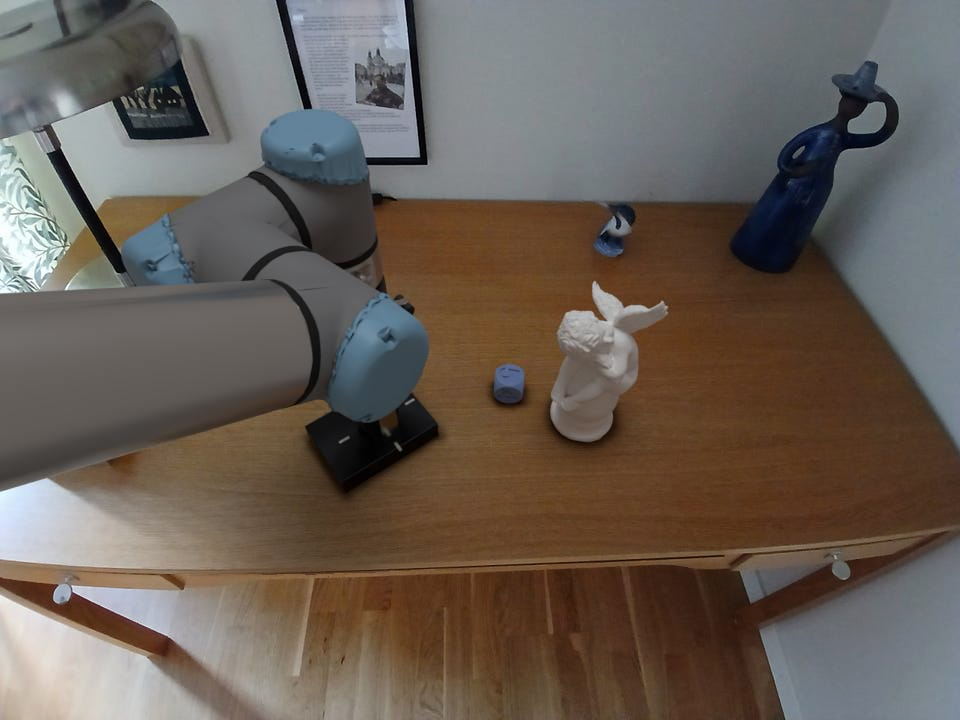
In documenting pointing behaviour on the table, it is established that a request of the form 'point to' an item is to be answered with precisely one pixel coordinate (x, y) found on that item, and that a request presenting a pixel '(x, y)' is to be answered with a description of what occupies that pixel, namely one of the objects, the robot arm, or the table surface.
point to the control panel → (369, 442)
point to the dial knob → (386, 427)
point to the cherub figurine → (597, 364)
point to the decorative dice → (509, 383)
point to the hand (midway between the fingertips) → (376, 415)
